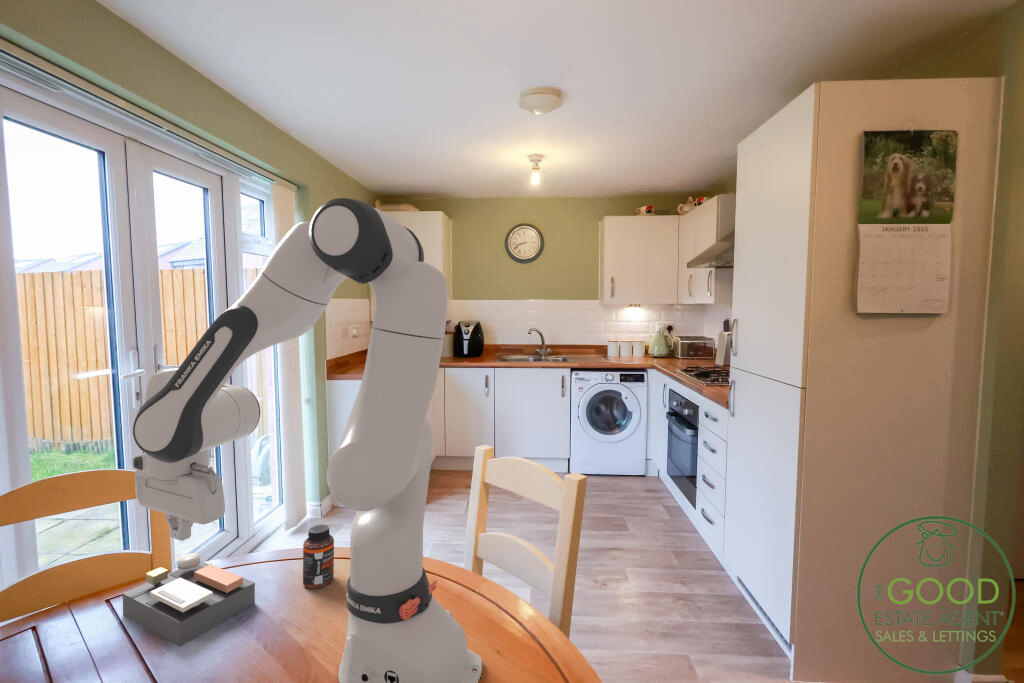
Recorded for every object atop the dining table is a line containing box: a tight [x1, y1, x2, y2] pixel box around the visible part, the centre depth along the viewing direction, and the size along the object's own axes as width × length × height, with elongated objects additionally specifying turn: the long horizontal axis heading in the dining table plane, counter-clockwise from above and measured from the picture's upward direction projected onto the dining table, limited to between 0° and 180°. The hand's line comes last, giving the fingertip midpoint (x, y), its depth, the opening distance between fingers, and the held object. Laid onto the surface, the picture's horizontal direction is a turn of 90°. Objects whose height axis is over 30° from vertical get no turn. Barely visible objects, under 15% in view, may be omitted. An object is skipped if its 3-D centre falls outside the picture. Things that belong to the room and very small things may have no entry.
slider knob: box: [145, 566, 169, 586], centre depth 83 cm, size 2×2×2 cm
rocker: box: [150, 578, 213, 612], centre depth 78 cm, size 10×5×1 cm, turn 64°
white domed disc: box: [177, 552, 201, 570], centre depth 88 cm, size 4×4×1 cm
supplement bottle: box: [302, 524, 335, 590], centre depth 92 cm, size 6×6×11 cm
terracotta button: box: [194, 563, 244, 593], centre depth 84 cm, size 10×3×1 cm, turn 64°
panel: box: [122, 560, 256, 647], centre depth 82 cm, size 18×13×4 cm
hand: (180, 538), depth 77 cm, fingers closed
